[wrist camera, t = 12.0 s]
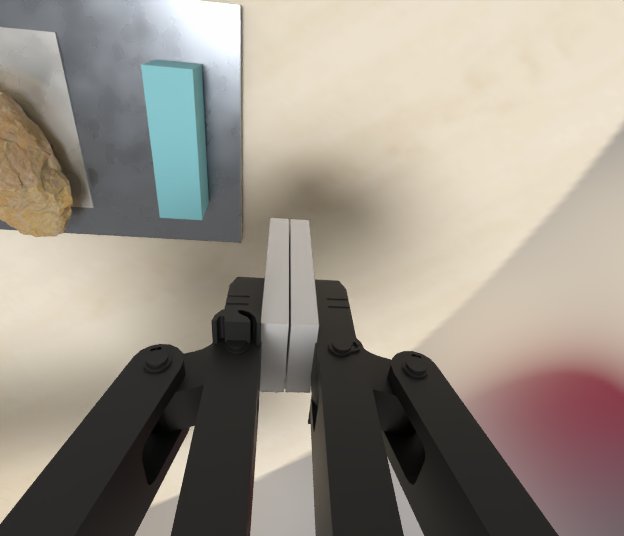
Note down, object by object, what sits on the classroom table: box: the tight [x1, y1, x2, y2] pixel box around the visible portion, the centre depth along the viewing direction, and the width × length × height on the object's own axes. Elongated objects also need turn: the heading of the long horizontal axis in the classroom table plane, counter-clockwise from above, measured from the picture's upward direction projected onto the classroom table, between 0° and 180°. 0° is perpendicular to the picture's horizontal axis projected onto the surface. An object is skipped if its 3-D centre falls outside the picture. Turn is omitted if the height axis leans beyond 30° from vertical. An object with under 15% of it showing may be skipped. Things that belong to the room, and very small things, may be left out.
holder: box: [0, 0, 242, 243], centre depth 29 cm, size 24×17×1 cm
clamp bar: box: [141, 60, 209, 220], centre depth 28 cm, size 3×10×3 cm, turn 175°
